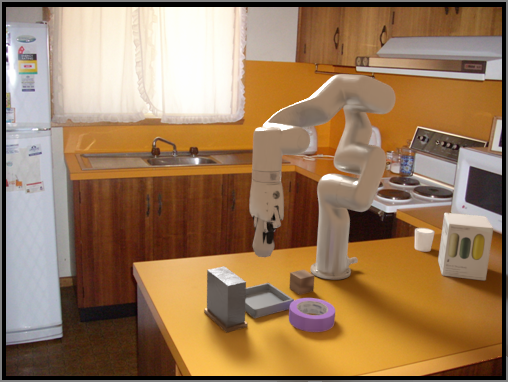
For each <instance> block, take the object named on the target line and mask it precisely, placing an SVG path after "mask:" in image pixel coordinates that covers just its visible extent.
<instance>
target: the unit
mask: <svg viewBox="0 0 508 382" xmlns="http://www.w3.org/2000/svg"><path fill="white" fill-rule="evenodd" d="M206 274H207V275H206V285H207V286H206V308H204V309H203V311H204V313H205V314H206V315H207V316H208V317H209V318H210V319H211V320H213V322H214V323H216V325H217V326H218V327H220V328H221V329H222V330H223V331H224V332H225V333H230V332H234V331H237V330H241V329H244V328H247V327H248V324H249V323H248V322H247V320H246V311H245V300H246V288H247V281H246V280H244V279H243V278H241V277H240V276H239V275H237V274H236V273H235V272H233V271H232V270H230V269H229V268H227V267H226V266H220V267H215V268H209V269H206Z"/></svg>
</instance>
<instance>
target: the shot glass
mask: <svg viewBox="0 0 508 382" xmlns="http://www.w3.org/2000/svg"><path fill="white" fill-rule="evenodd" d="M435 233H436V232H435V230H433V229H430V228H427V227H417V228H416V227H415V228H414V249H415V250H416V251H419V252H423V253H424V252H425V253H426V252H430V251H431V250H432V245H433V242H434V238H435V237H434V236H435Z"/></svg>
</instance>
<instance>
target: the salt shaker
mask: <svg viewBox="0 0 508 382" xmlns="http://www.w3.org/2000/svg"><path fill="white" fill-rule="evenodd" d="M257 216H258V217H260V215H259V214H258V212H257ZM270 224H271V223H268V226H269V225H270ZM255 228H256V232H255V231H254V237H253V242H252V248H253V252H254V255H256V257H259V258H268V257H271V255H272V253H273V251H274V249H275V247H276V246H275V241H274V242H272V244H267V240H266V237H265V241H264V244H263V232H264V220H262V219H260V218H258V222H257V227H255Z"/></svg>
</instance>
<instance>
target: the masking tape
mask: <svg viewBox="0 0 508 382" xmlns="http://www.w3.org/2000/svg"><path fill="white" fill-rule="evenodd" d="M288 311H289V312H288V321H289V323H290V324H291V325H292V327H294V328H295V329H298V330H301V331H305V332H309V333H320V332H327V331H328V330H331V329H332V328H333V327H334V325H335V317H336V308H335V307H334V305H333V304H332V303H330V302H328V301H327V300H323V299H321V298H320V299H319V298H313V297H303V298H301V297H300V298H297V299H294V301H293V302H292V303H291V304H290V308H289V309H288Z"/></svg>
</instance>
